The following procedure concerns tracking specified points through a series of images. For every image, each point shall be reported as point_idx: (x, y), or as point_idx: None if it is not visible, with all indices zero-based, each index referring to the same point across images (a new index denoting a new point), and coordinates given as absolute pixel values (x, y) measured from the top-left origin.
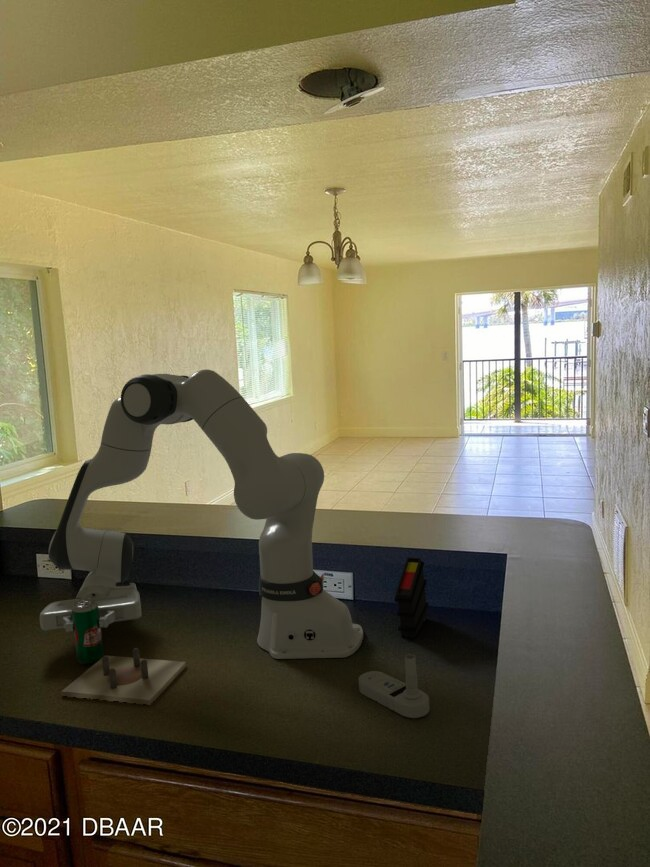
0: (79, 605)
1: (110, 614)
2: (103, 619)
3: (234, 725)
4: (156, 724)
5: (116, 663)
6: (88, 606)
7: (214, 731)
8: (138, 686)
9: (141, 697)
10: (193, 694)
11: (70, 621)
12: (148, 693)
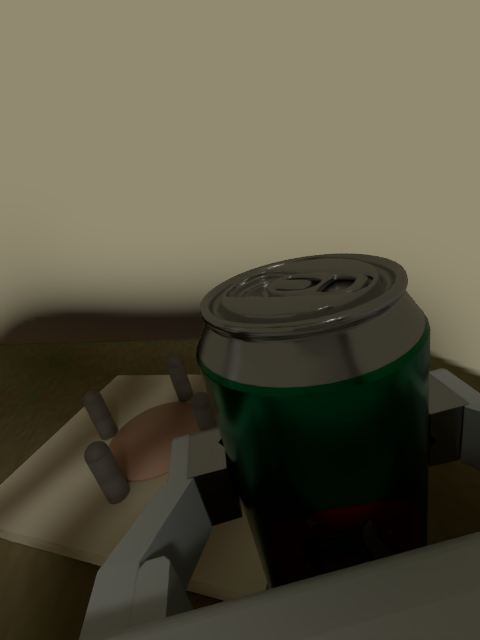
0: (312, 262)
1: (140, 517)
2: (193, 437)
3: (28, 368)
4: (121, 356)
5: None
6: (239, 277)
7: (56, 358)
8: (131, 403)
9: (130, 377)
10: (36, 415)
11: (450, 400)
12: (115, 388)
